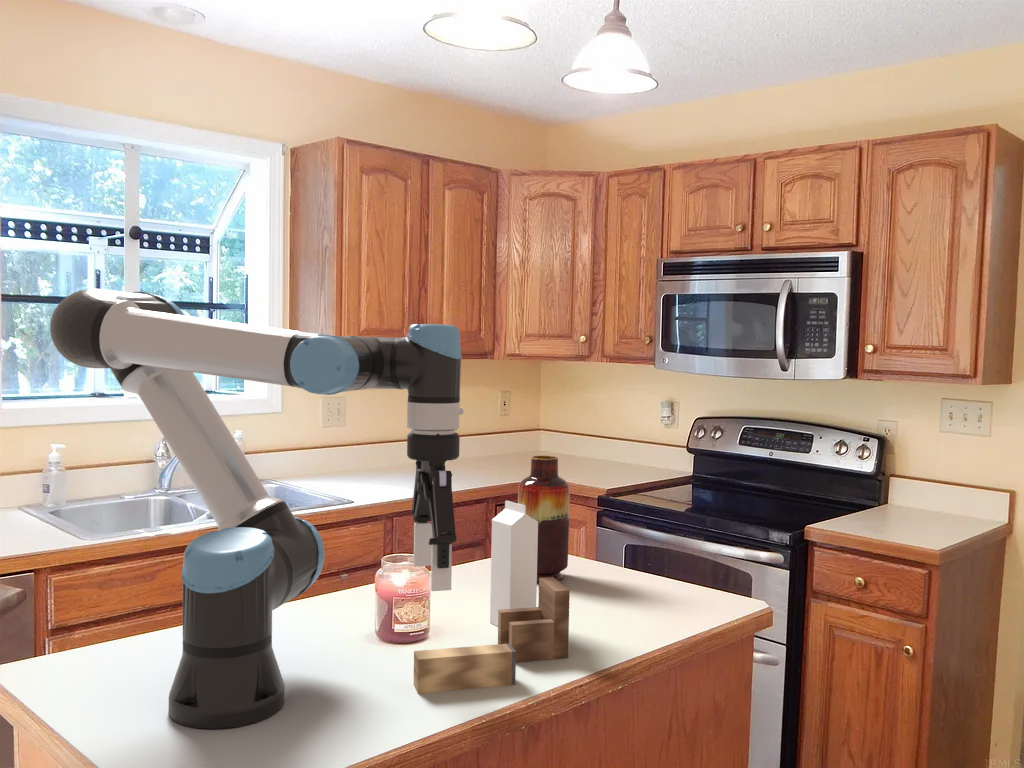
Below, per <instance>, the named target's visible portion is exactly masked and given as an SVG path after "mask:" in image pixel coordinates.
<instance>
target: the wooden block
mask: <svg viewBox="0 0 1024 768" xmlns="http://www.w3.org/2000/svg"><path fill="white" fill-rule="evenodd" d="M516 664H517V662H516V651H515V650H514V648H513V647H512V646H511V645H510V644H498V643H496V644H488V645H487V644H485V645H475V646H474V645H473V646H462V647H448V648H438V649H425V650H424V649H422V650H414V651H413V686H414V689H415V691H416V693H417V694H418V695H420V694H427V693H429V694H430V693H440V692H451V691H452V692H453V691H459V690H460V691H461V690H473V689H481V688H483V689H484V688H492V687H503V686H513V685H514V686H515V685H516V673H517V672H516V671H517V670H516V668H517V665H516Z"/></svg>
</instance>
